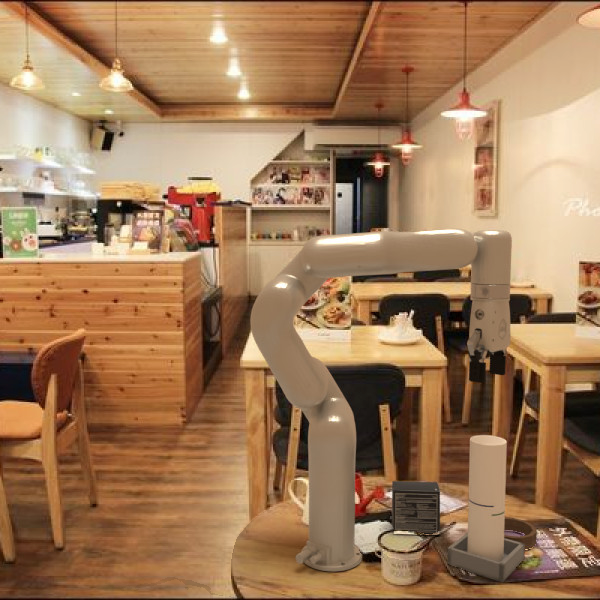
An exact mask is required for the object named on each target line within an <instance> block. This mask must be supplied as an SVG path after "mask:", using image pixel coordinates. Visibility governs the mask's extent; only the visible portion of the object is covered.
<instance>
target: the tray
mask: <svg viewBox="0 0 600 600" xmlns="http://www.w3.org/2000/svg"><path fill="white" fill-rule="evenodd" d="M467 546H468V531H467V532H466V533H465V534H463V535H462V536H461V537H459V539H456V541H455V542H453V543H452V544H451V545H450V546H448V547H447V559H446V562H447V563H446V565H447V564H450V565H452V566H451V567H453V566H456V567H459V568H462V569H464V570H463V571H465V570H466V572H468V571H469V573H471V572H472V573H471V574H475V575H478V576H480V577H484V578H487V579H490V580H493V581H496V582H500V583H504V582H505V580H506V579H508V578H509V577H510V576H511V575H512V574H513V573H514V571H515V570H516V569H517V568H518V567H519V566H520V565H521V564H522V563H523V562H524V561H525V552H526V551H525V544H523V543H520V542H516V541H513V540H509V539H506V538H504V556H503V561H502V562H498V561H494V560H491V559H488V558H485V557H481V556H478V555H475V554H472V553H468V552H467ZM523 560H524V561H523ZM522 561H523V562H522ZM521 562H522V563H521ZM520 563H521V564H520ZM519 564H520V565H519ZM450 565H449V566H450ZM518 565H519V566H518ZM517 566H518V567H517ZM456 567H455V568H456ZM516 567H517V568H516ZM459 568H458V569H459ZM462 569H461V570H462Z"/></svg>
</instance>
